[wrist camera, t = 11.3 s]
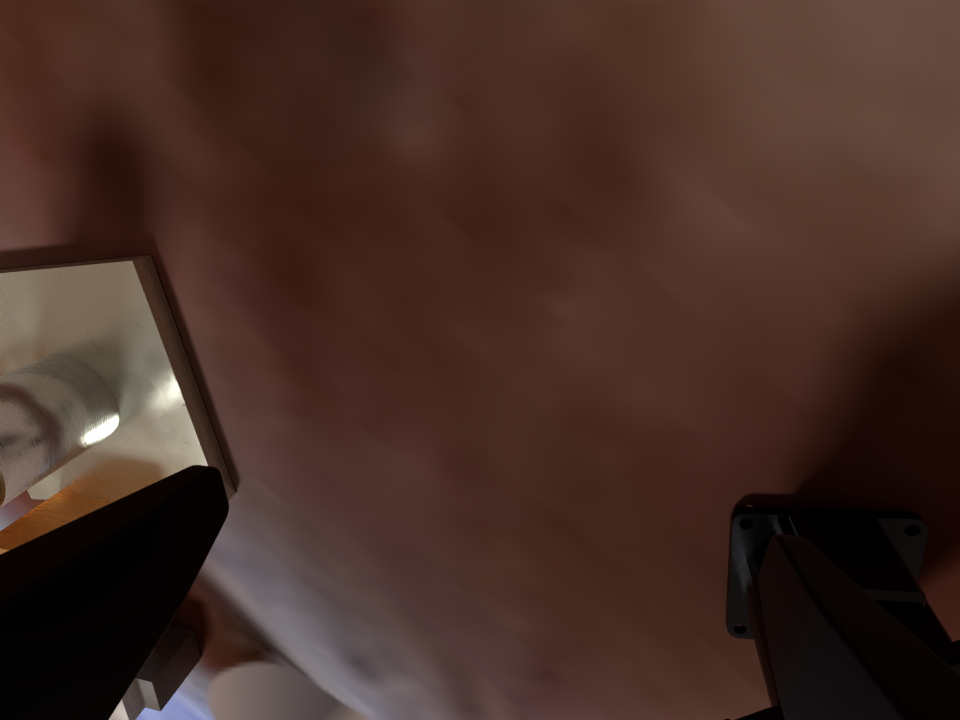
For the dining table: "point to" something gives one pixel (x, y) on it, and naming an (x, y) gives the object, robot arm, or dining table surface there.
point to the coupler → (50, 419)
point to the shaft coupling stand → (141, 404)
